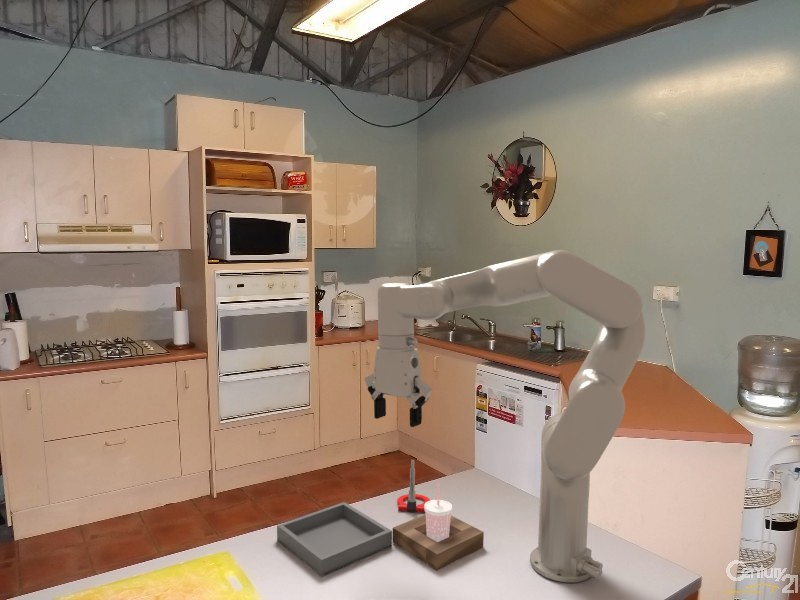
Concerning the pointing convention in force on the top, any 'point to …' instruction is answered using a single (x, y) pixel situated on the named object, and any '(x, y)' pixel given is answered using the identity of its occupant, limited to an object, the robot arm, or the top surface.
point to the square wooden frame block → (438, 553)
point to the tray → (333, 537)
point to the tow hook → (412, 496)
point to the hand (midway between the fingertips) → (397, 421)
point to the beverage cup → (438, 518)
